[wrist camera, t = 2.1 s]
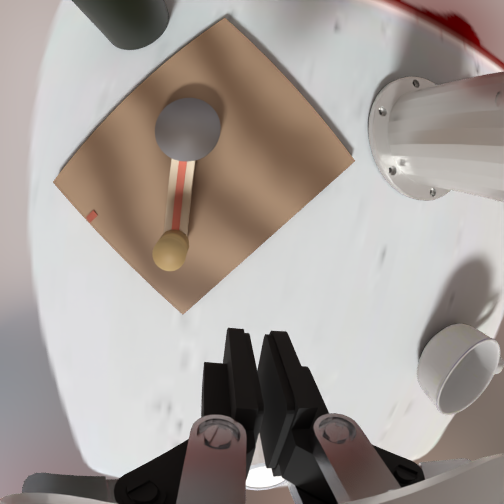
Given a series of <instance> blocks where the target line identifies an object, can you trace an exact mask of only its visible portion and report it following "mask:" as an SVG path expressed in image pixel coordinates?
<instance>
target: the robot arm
mask: <svg viewBox="0 0 504 504" xmlns="http://www.w3.org/2000/svg"><path fill="white" fill-rule="evenodd" d="M379 112H380V114H379ZM368 131H369V142H370V146H371V150H372V154H373V157H374V160H375V162H376V164H377V167H378V169H379V170H380V172H381V173H382V175H383V177H384V178H385V179H386V180H387V182H388V183H389V184H390V185H391V186H392V187H393V188H394V189H396V190H397V191H398V192H399V193H401V194H403V195H405V196H407V197H410V198H413V199H417V200H424V201H429V200H435V199H438V198H440V197H442V196H444V195H445V194H447V193H448V192H449V191H451V190H453V191H458V192H463V193H467V194H472V195H476V196H481V197H485V198H489V199H493V200H497V201H501V202H504V72H498V73H493V74H487V75H482V76H476V77H471V78H467V79H462V80H457V81H453V82H448V83H444V84H440V85H436V84H435V83H433V82H431V81H429V80H427V79H425V78H420V77H404V78H400V79H397V80H395V81H393V82H390V83H389V84H388V85H386V86H385V87H384V88H383V89H382V90H381V91H380V93H379V94H378V95H377V97H376V99H375V101H374V103H373V105H372V108H371V112H370V116H369V129H368ZM389 169H390V171H389ZM259 433H260V439H261V444H262V449H263V454H264V460H265V465H266V468H272V473H273V477H276V476H282V478H283V479H285V480H287V481H288V487H289V490H290V493H291V495H292V498H293V500H294V502H295V504H504V454H497V455H493V456H488V457H484V458H480V459H477V460H474V461H471V460H468V459H462V458H461V459H452V460H443V461H432V462H420V464H419V465H417V464H416V463H414V462H412V461H411V460H408V459H406V458H403V457H400V456H398V455H395V454H393V453H391V452H388V451H386V450H383V449H381V448H379V447H376V446H374V445H372V444H371V443H370V441H369V440H368V438H367V437H366V435H365V434H364V432H363V431H362V429H361V428H360V427H359V425H358V424H357V423H356V422H355V421H354V420H353V419H351V418H350V417H347V416H345V415H342V414H336V413H331V414H329V412H328V410H327V408H326V405H325V403H324V401H323V399H322V396H321V394H320V392H319V390H318V387H317V385H316V383H315V381H314V378H313V376H312V374H311V372H310V370H309V368H308V367H306V366H301V364H300V362H299V360H298V357H297V355H296V352H295V350H294V347H293V345H292V343H291V340H290V338H289V335H288V333H287V332H284V331H271V332H270V334H269V335H267V334H265V336H264V340H263V345H262V350H261V355H260V360H259V365H258V370H257V368H256V363H255V358H254V354H253V349H252V344H251V339H250V334H249V333H244V329H236V328H228V329H227V335H226V343H225V351H224V359H223V364H222V363H209V362H204V370H203V383H202V409H201V418H200V419H198V420H197V421H196V422H195V423H194V424H193V426H192V428H191V431H190V436H189V439H188V440H186V441H185V442H183V443H181V444H180V445H178V446H176V447H174V448H173V449H171V450H169V451H168V452H166V453H164V454H162V455H161V456H159V457H157V458H155V459H153V460H151V461H150V462H148V463H146V464H144V465H142V466H140V467H138V468H137V469H135V470H133V471H131V472H129V473H127V474H125V475H123V476H122V477H121V478H119V479H115V480H107V479H106V477H104V476H101V477H100V476H74V475H60V474H49V473H35V474H33V475H30V476H28V477H27V479H26V480H25V481H24V484H23V487H22V493H20V494H12V495H8V496H5V497H3V498H1V499H0V504H245V501H246V479H247V477H248V473H249V470H250V466H251V463H252V459H253V456H254V452H255V448H256V442H257V438H258V435H259Z"/></svg>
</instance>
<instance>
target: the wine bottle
mask: <svg viewBox="0 0 504 504" xmlns="http://www.w3.org/2000/svg"><path fill="white" fill-rule="evenodd" d="M72 1H73V2H74V3H75V4H76V5H77V6H78V8H79V9H80V10H81V11H82V12H83V13H84V14H85V15H86V16H87V17H88V18H89V19H90V20H91V21H92V22H93V23H94V24H95V26H96V27H97V28H98V29H99V30H100V31H101V32H102V33H103V34H104V35H105V36H106V37H107V38H108V40H109V41H110V42H111V43H112V44H113V45H114V46H116V47H118V48H121V49H125V50H134V49H139V48H143V47H145V46H147V45H149V44H151V43H153V42H154V41H155V40H157V39H158V38H159V37H160V36H161V35H162V33H163V32H164V31H165V29H166V27H167V24H168V20H169V15H168V11H167V8H166V5H165V1H164V0H72Z"/></svg>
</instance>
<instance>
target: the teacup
mask: <svg viewBox="0 0 504 504" xmlns="http://www.w3.org/2000/svg"><path fill="white" fill-rule="evenodd" d="M503 366H504V361H503V359H502V358H501V357H500V346H499V344H498V342H497V341H496V340H495V339H492V338H490V337H488V336H487V335H485V334H484V333H482V332H481V331H479V330H477V329H476V328H474V327H472V326H469V325H467V324H461V323H460V324H453V325H450V326H448V327H446V328H444V329H443V330H441V331H440V332H438V333H437V334H436V335H435V336H434V337H432V339H431V340H430V341H429V342H428V343H427V345H426V346H425V348H424V350H423V352H422V355H421V357H420V360H419V363H418V368H417V378H418V382H419V385H420V387H421V388H422V390H423V391H424V393H425V394H426V395H427V396H428V398H429V399H430V400H431V401H432V402H433V403H434V405H435V406H436V407H437V409H438V411H439V412H440V413H442V414H444V415H452V414H455V413H458V412H460V411H462V410H464V409H465V408H467V407H468V406H469V405H470V404H472V403H473V402H474V401H475V400H476V399H477V398H478V397H479V396H480V395H481V394H482V393H483V391H484V390H485V388H486V387H487V386H488V384H489V383H490V381H491V379H492V378H493V375H494V374H498V373H500V372H501V370H502V368H503Z"/></svg>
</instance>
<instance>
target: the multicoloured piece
mask: <svg viewBox="0 0 504 504" xmlns="http://www.w3.org/2000/svg"><path fill="white" fill-rule="evenodd" d="M220 129H221V127H220V120H219V117H218V115H217V113H216V111H215V110H214V109H213V108H212V106H210V105H209V104H208V103H206V102H205V101H203V100H200V99H197V98H182V99H178V100H176V101H174V102H172V103H170V104H169V105H167V106H166V107H165V108H164V109H163V110H162V112H161V113H160V115H159V116H158V118H157V121H156V125H155V138H156V141H157V144H158V146H159V147H160V149H161V150H162V151H163V152H164V153H165V154H166V155H167V156H169V157H170V158H172V160H171V168H170V176H169V185H168V194H167V204H166V215H165V227H164V234H163V235H162V236H161V238H160V239H159V240H158V242H157V243H156V245H155V246H154V248H153V253H152V255H153V260H154V262H155V264H156V265H157V266H158V267H159V268H161V269H162V270H165V271H175V270H177V269H179V268H180V267H181V266H182V265H183V264H184V262H185V259H186V255H187V252H188V249H189V240H188V237H187V233H188V223H189V213H190V204H191V195H192V187H193V178H194V170H195V163H196V160H199V159H201V158H203V157H205V156H206V155H208V154H209V153H210V152H211V151H212V150H213V149H214V148H215V146H216V144H217V142H218V140H219V137H220Z"/></svg>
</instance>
